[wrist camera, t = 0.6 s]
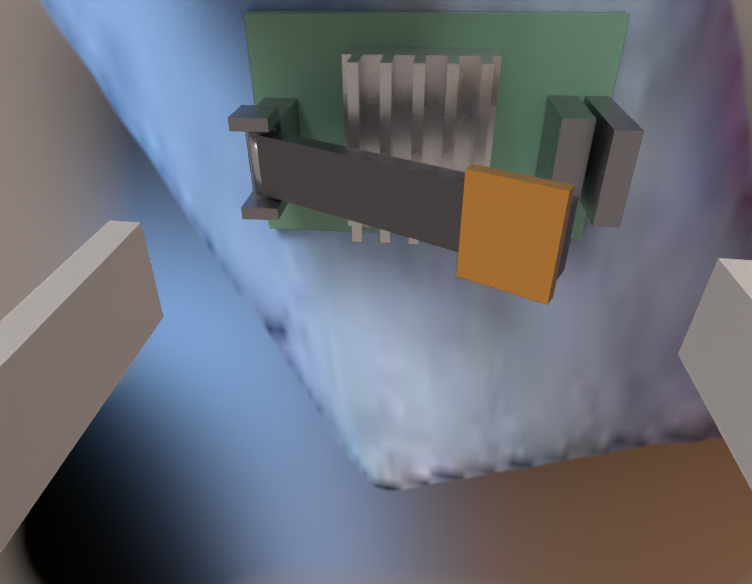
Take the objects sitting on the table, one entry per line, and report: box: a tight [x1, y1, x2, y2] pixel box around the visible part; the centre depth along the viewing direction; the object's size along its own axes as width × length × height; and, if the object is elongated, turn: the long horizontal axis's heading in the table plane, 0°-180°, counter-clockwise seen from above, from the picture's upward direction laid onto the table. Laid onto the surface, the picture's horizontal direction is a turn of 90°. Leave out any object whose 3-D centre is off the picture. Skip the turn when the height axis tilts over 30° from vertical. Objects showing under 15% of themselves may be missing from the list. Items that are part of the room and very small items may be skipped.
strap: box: [247, 130, 579, 305], centre depth 32 cm, size 6×21×2 cm, turn 90°
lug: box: [535, 95, 644, 227], centre depth 37 cm, size 6×4×8 cm
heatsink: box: [342, 46, 502, 244], centre depth 38 cm, size 12×10×6 cm
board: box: [244, 11, 630, 240], centre depth 41 cm, size 16×25×1 cm, turn 90°
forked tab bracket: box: [228, 98, 300, 220], centre depth 38 cm, size 7×2×8 cm, turn 0°
